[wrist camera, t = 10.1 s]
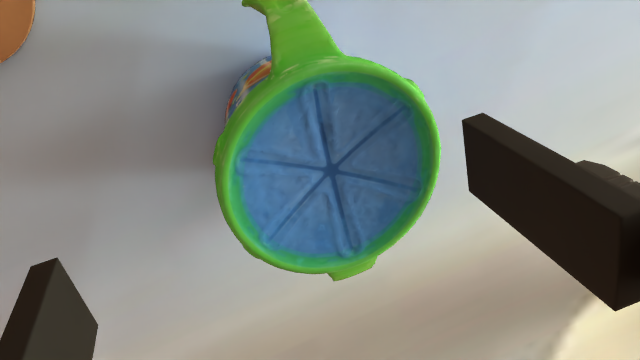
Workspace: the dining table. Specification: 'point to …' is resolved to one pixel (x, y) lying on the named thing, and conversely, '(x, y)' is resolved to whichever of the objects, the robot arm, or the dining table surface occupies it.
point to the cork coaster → (14, 25)
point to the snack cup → (322, 151)
